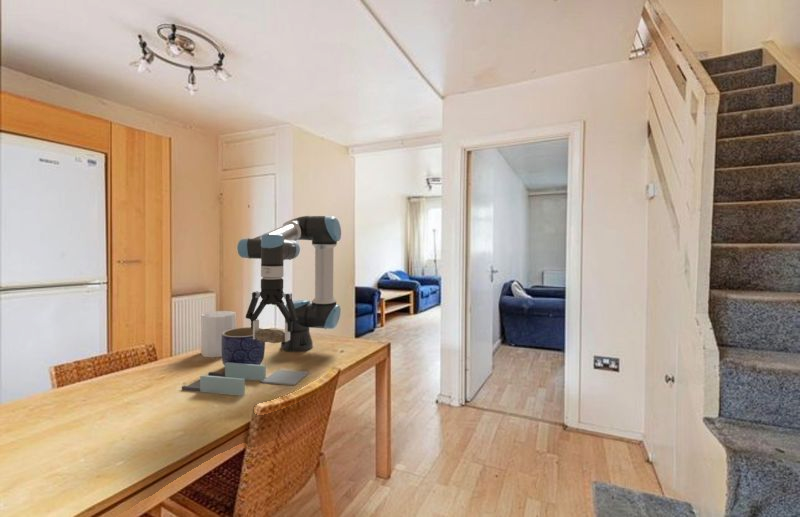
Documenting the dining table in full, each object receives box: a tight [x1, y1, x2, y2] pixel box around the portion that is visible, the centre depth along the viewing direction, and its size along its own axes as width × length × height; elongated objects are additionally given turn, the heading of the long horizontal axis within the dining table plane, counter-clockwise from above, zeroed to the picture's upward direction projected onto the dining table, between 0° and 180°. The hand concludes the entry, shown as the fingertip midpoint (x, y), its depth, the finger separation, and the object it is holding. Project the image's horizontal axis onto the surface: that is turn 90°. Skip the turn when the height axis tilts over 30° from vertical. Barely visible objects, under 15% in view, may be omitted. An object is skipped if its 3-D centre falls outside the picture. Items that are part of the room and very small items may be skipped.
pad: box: [261, 368, 310, 387], centre depth 143 cm, size 13×13×1 cm
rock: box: [256, 328, 285, 344], centre depth 132 cm, size 8×11×4 cm
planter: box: [221, 326, 266, 367], centre depth 153 cm, size 17×17×15 cm
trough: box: [181, 362, 267, 397], centre depth 134 cm, size 15×23×6 cm, turn 81°
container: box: [200, 310, 237, 358], centre depth 172 cm, size 14×14×18 cm
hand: (271, 339), depth 131 cm, fingers closed on rock, 11 cm apart
